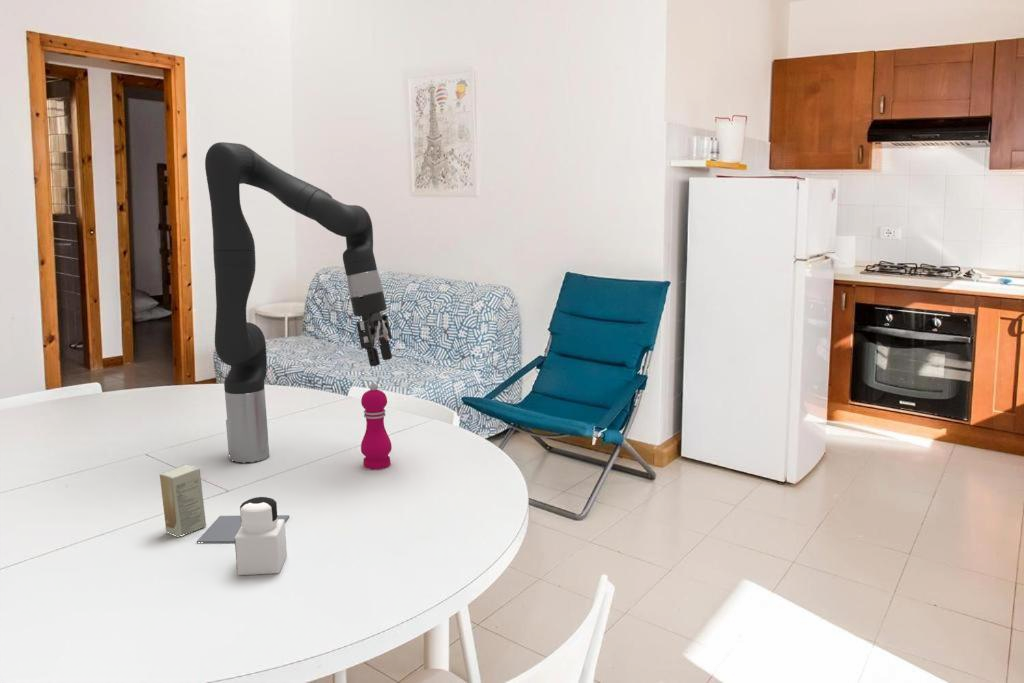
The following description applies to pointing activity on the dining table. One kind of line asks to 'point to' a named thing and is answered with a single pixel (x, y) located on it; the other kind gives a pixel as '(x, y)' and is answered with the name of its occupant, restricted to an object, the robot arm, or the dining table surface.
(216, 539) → the grey rubber mat
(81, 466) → the dining table surface
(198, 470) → the skincare box
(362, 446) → the pepper mill
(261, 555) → the medicine bottle
